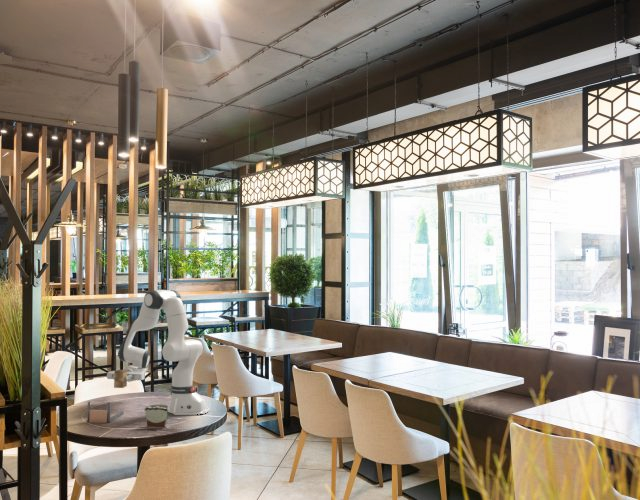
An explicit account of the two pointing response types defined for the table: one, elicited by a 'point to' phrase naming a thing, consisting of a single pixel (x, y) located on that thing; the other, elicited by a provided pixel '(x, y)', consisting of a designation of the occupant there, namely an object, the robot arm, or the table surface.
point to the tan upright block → (120, 378)
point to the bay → (101, 414)
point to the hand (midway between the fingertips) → (119, 378)
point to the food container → (156, 415)
